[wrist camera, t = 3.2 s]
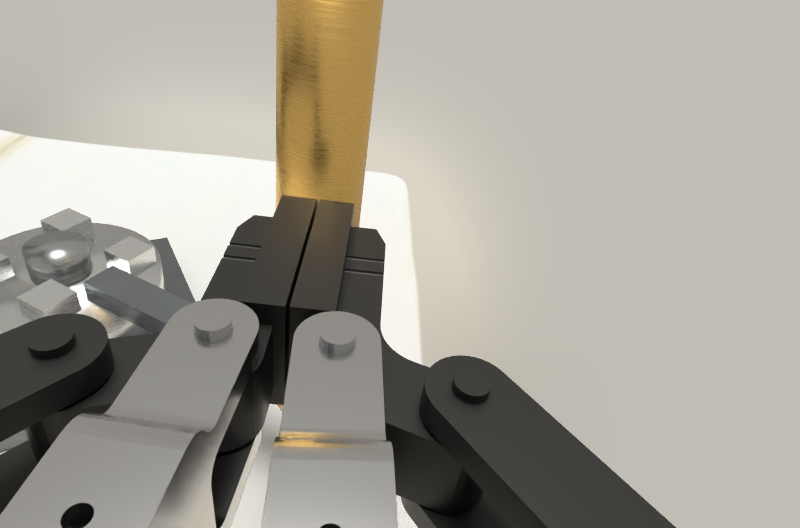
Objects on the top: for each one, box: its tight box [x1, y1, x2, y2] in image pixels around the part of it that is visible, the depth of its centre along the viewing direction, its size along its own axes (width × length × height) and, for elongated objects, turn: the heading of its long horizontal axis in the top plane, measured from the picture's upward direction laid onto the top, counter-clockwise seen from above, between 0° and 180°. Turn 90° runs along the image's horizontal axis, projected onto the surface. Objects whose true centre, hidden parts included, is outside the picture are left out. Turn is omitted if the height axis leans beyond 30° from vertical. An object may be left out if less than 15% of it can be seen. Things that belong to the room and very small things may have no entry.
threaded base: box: [0, 230, 195, 452], centre depth 31 cm, size 13×13×7 cm
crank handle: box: [0, 0, 383, 411], centre depth 23 cm, size 22×10×23 cm, turn 64°
